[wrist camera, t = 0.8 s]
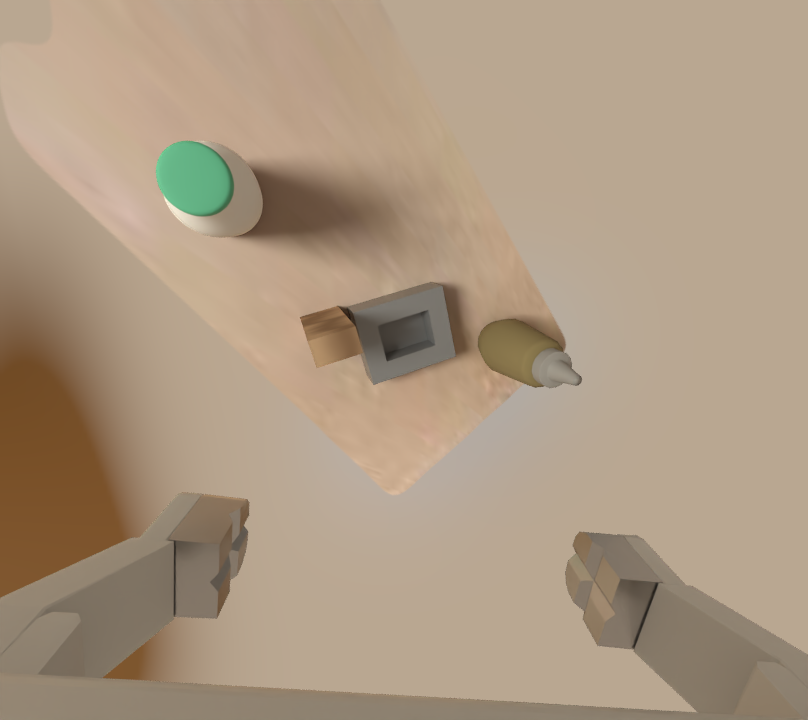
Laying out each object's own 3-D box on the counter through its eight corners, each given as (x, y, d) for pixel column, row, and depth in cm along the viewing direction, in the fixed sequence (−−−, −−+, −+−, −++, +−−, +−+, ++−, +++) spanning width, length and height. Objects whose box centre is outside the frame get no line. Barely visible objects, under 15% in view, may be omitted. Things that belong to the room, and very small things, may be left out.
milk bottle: (276, 196, 45) (280, 173, 27) (237, 250, 46) (215, 263, 28) (214, 145, 42) (170, 80, 24) (172, 204, 42) (98, 184, 24)
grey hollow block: (366, 374, 55) (373, 384, 52) (347, 306, 52) (353, 312, 48) (444, 348, 58) (455, 356, 54) (430, 281, 54) (442, 285, 50)
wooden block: (307, 338, 51) (316, 368, 40) (300, 317, 50) (307, 341, 39) (344, 327, 52) (363, 352, 41) (337, 306, 51) (355, 326, 40)
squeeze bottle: (527, 330, 61) (619, 366, 45) (497, 373, 62) (578, 424, 46) (490, 303, 58) (576, 332, 42) (460, 349, 59) (533, 395, 42)
